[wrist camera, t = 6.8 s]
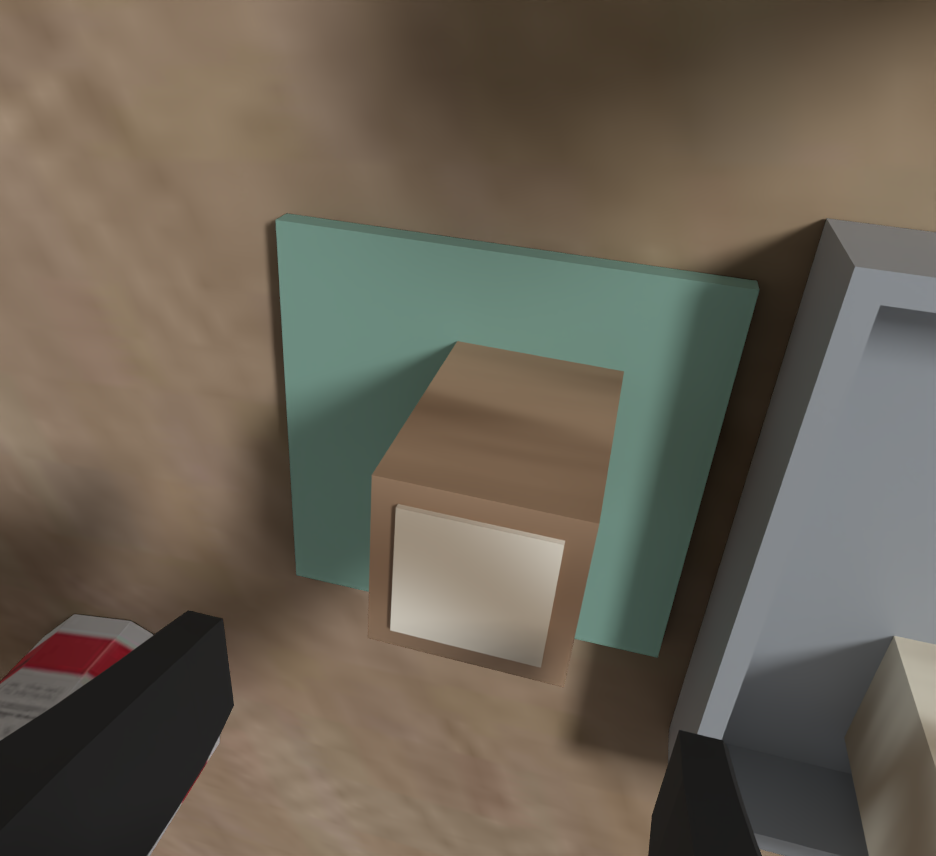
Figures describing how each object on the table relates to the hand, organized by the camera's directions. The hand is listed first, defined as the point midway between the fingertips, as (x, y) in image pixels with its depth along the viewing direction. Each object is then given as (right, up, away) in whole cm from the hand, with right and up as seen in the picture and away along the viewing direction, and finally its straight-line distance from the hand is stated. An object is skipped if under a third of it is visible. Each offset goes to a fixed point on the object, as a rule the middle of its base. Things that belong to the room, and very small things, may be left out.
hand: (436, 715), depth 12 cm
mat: (+1, +4, +9) cm, 10 cm away
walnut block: (+2, +4, +7) cm, 9 cm away
